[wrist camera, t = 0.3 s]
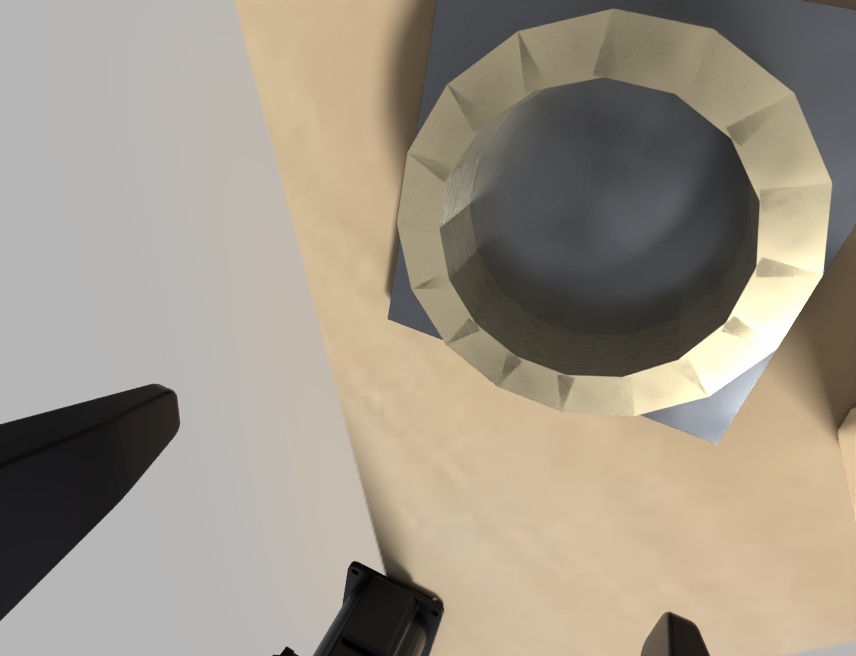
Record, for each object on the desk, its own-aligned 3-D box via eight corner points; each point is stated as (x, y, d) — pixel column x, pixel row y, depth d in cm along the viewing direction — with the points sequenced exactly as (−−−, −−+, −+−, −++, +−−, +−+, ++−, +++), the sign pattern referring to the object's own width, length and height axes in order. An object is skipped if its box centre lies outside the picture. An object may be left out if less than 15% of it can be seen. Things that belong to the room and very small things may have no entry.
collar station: (716, 428, 22) (720, 499, 19) (397, 309, 25) (354, 351, 22) (959, 31, 14) (1038, 35, 11) (458, -62, 18) (405, -80, 14)
